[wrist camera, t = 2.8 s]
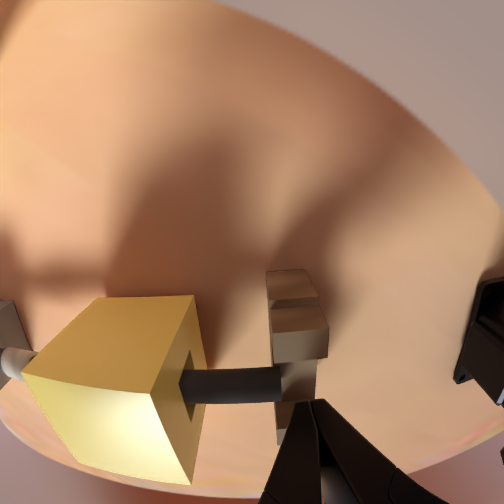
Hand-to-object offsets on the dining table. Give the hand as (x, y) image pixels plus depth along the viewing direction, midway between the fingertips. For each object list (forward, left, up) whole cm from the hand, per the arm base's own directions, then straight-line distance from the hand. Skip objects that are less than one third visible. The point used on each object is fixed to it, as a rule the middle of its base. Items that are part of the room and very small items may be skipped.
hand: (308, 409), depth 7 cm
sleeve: (+6, 0, -4) cm, 7 cm away
